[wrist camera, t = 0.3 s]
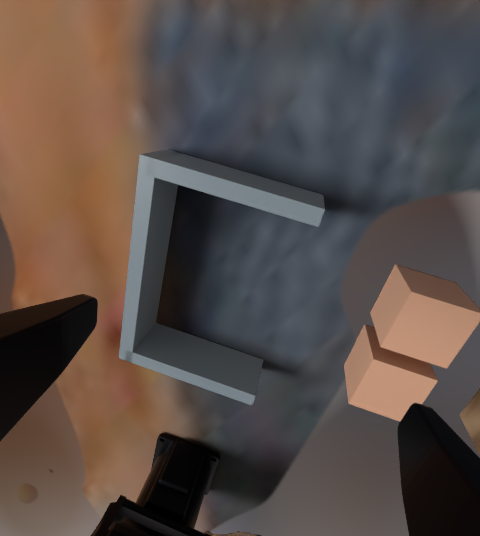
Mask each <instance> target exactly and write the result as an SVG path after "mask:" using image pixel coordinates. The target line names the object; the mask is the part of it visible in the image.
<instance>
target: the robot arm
mask: <svg viewBox="0 0 480 536" xmlns="http://www.w3.org/2000/svg"><path fill="white" fill-rule="evenodd" d="M97 306H98V302H97V299H96V298H94V297H91V296H88V295H85V294H81V295H76V296H72V297H68V298H64V299H60V300H55V301H51V302H47V303H43V304H39V305H35V306H30V307H26V308H22V309H18V310H14V311H9V312H5V313H1V314H0V441H1V440H2V439H3V438H4V437H5V435H6V434H7V433H8V432H9V431H10V430H11V429H12V428H13V427H14V425H15V424H16V423H17V422H18V421H19V420H20V419H21V418H22V417H23V416H24V414H25V413H26V412H27V411H28V410H29V409H30V408H31V407H32V406H33V404H34V403H35V402H36V401H37V400H38V399H39V398H40V397H41V396H42V395H43V393H44V392H45V391H46V390H47V389H48V388H49V387H50V386H51V384H52V383H53V382H54V381H55V380H56V379H57V378H58V377H59V376H60V374H61V373H62V372H63V371H64V369H65V368H66V367H67V366H68V364H69V363H70V361H71V360H72V359H73V357H74V356H75V355H76V353H77V352H78V351H79V349H80V348H81V346H82V345H83V344H84V342H85V341H86V340H87V338H88V337H89V335H90V334H91V333H92V331H93V330H94V328H95V326H96V323H97ZM398 445H399V458H400V459H399V460H400V474H401V487H402V495H403V502H404V507H405V513H406V519H407V525H408V531H409V536H480V458H479V457H478V456H477V455H476V454H475V453H474V452H473V451H472V450H471V449H470V448H469V447H468V446H467V444H466V443H465V442H464V441H463V440H462V439H461V438H460V437H459V436H458V435H457V434H456V433H455V432H454V431H453V430H452V429H451V428H450V427H449V426H448V425H447V423H446V422H445V421H444V420H443V419H442V418H441V417H440V416H439V415H438V414H437V413H436V412H435V411H434V410H433V409H432V408H431V407H428V406H425V405H422V404H419V403H413V404H412V405H411V406H410V407H409V409H408V410H407V412H406V413H405V415H404V417H403V418H402V420H401V421H400V423H399V426H398ZM219 460H220V456H219V454H217V453H215V452H212V451H210V450H207V449H204V448H202V447H199V446H196V445H193V444H191V443H188V442H185V441H183V440H180V439H177V438H175V437H172V436H169V435H167V434H164V433H161V434H160V435H159V437H158V439H157V444H156V449H155V454H154V459H153V464H152V469H151V472H150V474H149V476H148V478H147V480H146V482H145V484H144V486H143V488H142V490H141V493H140V495H139V497H138V499H137V501H136V503H135V502H133V501H130V500H128V499H126V497H125V496H122V495H120V497H119V499H118V500H117V502H113V503H110V505H109V506H108V508H107V510H106V512H105V514H104V516H103V517H102V519H101V521H100V523H99V524H98V526H97V527H96V529H95V530H94V532H93V533H92V535H91V536H211V535H209V534H207V533H205V534H204V533H202V532H199V531H197V530H195V529H194V527H195V524H196V520H197V517H198V514H199V510H200V507H201V504H202V500H203V497H204V495H207V494H208V492H209V489H210V486H211V483H212V480H213V477H214V474H215V472H216V469H217V466H218V463H219Z"/></svg>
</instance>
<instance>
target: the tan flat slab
mask: <svg viewBox="0 0 480 536" xmlns="http://www.w3.org/2000/svg"><path fill="white" fill-rule="evenodd" d="M206 533H207V534H209V535H211V536H260V535H254V534H251V533H246V532H237V533H230V534H227V535H218V534H212V533H210V532H206ZM204 534H205V533H204Z"/></svg>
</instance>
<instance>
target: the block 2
mask: <svg viewBox="0 0 480 536" xmlns="http://www.w3.org/2000/svg"><path fill="white" fill-rule="evenodd" d="M344 369H345V377H346V386H347V394H348V402H349V404H351V405H354V406H357V407H360V408H363V409H365V410H369V411H371V412H374V413H377V414H380V415H383V416H386V417H388V418H391V419H394V420H397V421H401V420H402V418H403V417H404V415H405V413H406V412H407V410H408V409H409V407H410V406H411V405H412V404H413V403H419V404H422V403H423V402H424V400H425V399H426V398H427V396H428V395H429V393H430V392H431V390H432V389H433V388H434V386H435V385H436V383H437V382H438V379H437V377H436V375H435V373H434V371H433V369H432V367H431V365H430V363H428V362H424V361H421V360H418V359H415V358H412V357H409V356H406V355H403V354H400V353H397V352H394V351H391V350H388V349H385V348H382V347H380V344H379V340H378V337H377V333H376V330H375V327H373V326H369V325H366V324H364V326H363V329H362V330H361V332H360V334H359V336H358V338H357V340H356V343H355V345H354V347H353V349H352V351H351V353H350V355H349V357H348V359H347V360H346V362H345V364H344Z"/></svg>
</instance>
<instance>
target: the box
mask: <svg viewBox="0 0 480 536" xmlns="http://www.w3.org/2000/svg"><path fill="white" fill-rule="evenodd" d="M178 185H181V186H184V187H188V188H191V189H194V190H198V191H201V192H204V193H208V194H211V195H214V196H218V197H221V198H224V199H227V200H231V201H234V202H237V203H241V204H244V205H247V206H251V207H254V208H257V209H261V210H264V211H267V212H270V213H274V214H277V215H280V216H284V217H287V218H290V219H294V220H297V221H300V222H304V223H307V224H310V225H314V226H317V227H319V224H320V222H321V219H322V216H323V213H324V211H325V205H324V197H323V195H322V194H319V193H315V192H312V191H309V190H305V189H302V188H298V187H295V186H292V185H288V184H285V183H281V182H278V181H275V180H271V179H268V178H264V177H261V176H257V175H254V174H251V173H247V172H244V171H240V170H237V169H234V168H230V167H227V166H223V165H220V164H217V163H213V162H210V161H206V160H203V159H200V158H196V157H193V156H189V155H186V154H182V153H179V152H176V151H172V150H163V151H157V152H151V153H145V154H140V158H139V168H138V178H137V187H136V197H135V207H134V216H133V226H132V236H131V246H130V255H129V265H128V275H127V284H126V294H125V304H124V313H123V323H122V333H121V342H120V352H119V358H120V359H123V360H126V361H128V362H131V363H134V364H137V365H140V366H142V367H145V368H148V369H151V370H154V371H157V372H159V373H162V374H165V375H168V376H171V377H173V378H176V379H179V380H182V381H185V382H187V383H190V384H193V385H196V386H199V387H201V388H204V389H207V390H210V391H213V392H215V393H218V394H221V395H224V396H227V397H229V398H232V399H235V400H238V401H241V402H243V403H246V404H249V405H252V404H253V401H254V399H255V396H256V392H257V387H258V383H259V378H260V373H261V369H262V364H263V359H260V358H257V357H254V356H252V355H249V354H246V353H243V352H240V351H237V350H234V349H231V348H228V347H225V346H222V345H219V344H217V343H214V342H211V341H208V340H205V339H202V338H199V337H196V336H193V335H190V334H187V333H184V332H182V331H179V330H176V329H173V328H170V327H167V326H164V325H161V324H158V323H156V321H157V314H158V308H159V302H160V296H161V289H162V283H163V277H164V270H165V264H166V258H167V252H168V245H169V239H170V233H171V227H172V220H173V214H174V208H175V202H176V195H177V189H178Z"/></svg>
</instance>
